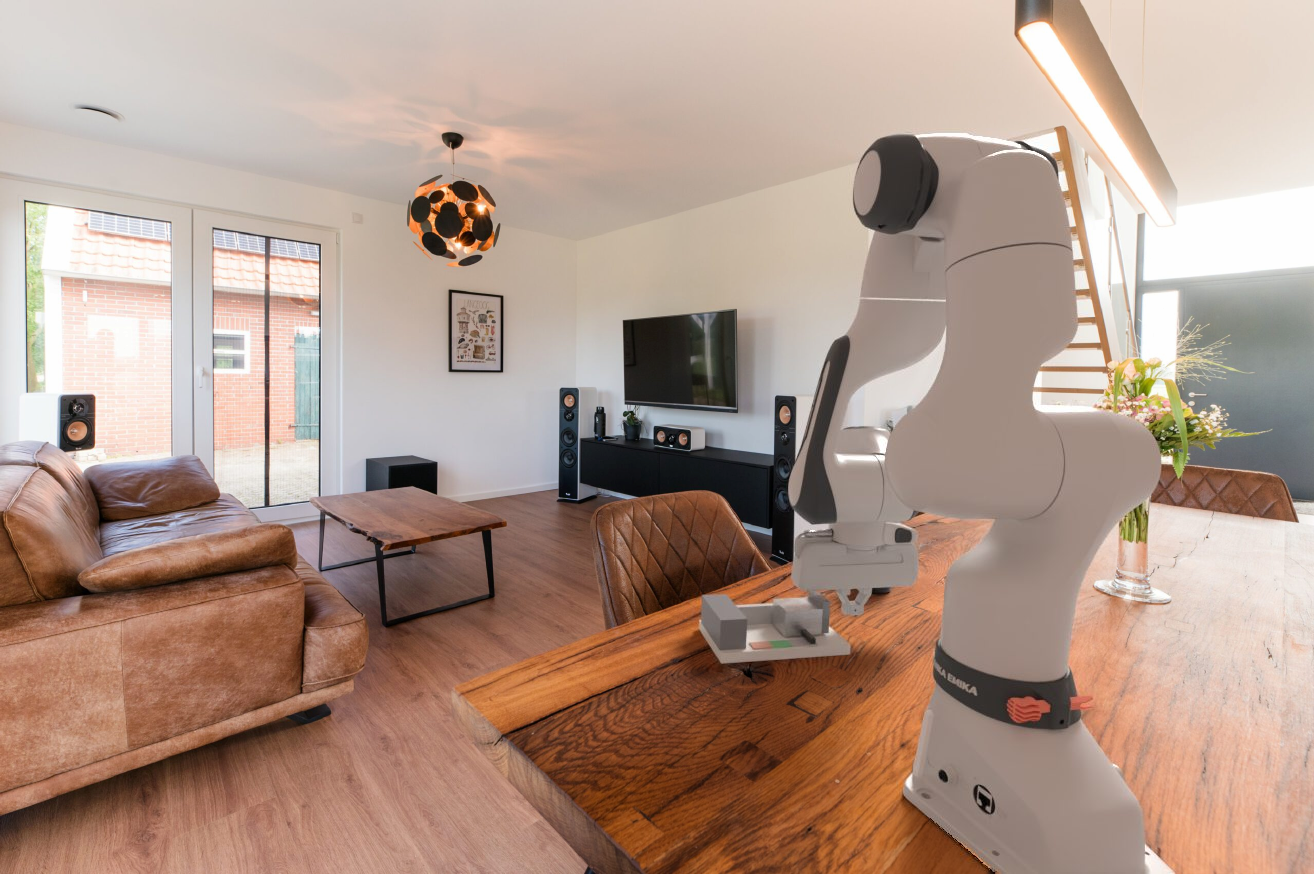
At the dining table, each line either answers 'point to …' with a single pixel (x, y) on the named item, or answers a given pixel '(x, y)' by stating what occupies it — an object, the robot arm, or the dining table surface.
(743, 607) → the gauge base
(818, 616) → the grey sliding block
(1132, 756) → the dining table surface
